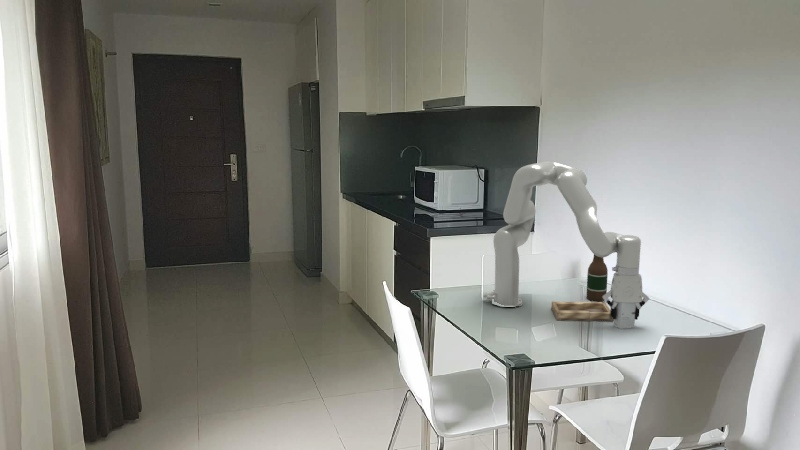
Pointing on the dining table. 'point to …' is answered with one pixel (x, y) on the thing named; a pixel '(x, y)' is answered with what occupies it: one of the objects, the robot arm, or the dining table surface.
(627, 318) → the skincare box
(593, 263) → the beer bottle
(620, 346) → the dining table surface
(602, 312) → the wooden tray
